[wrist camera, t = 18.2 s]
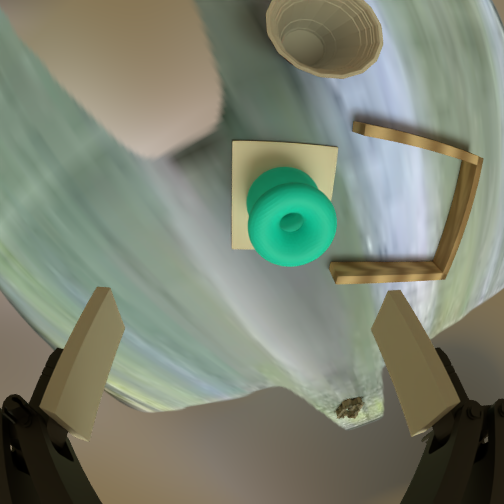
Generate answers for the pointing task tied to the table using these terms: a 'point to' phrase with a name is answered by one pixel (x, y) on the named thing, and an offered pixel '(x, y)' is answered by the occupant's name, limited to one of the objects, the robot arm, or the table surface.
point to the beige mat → (268, 157)
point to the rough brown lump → (350, 408)
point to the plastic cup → (325, 35)
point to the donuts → (289, 217)
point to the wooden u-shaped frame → (452, 230)
